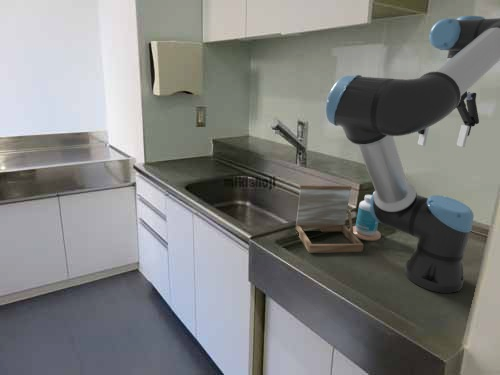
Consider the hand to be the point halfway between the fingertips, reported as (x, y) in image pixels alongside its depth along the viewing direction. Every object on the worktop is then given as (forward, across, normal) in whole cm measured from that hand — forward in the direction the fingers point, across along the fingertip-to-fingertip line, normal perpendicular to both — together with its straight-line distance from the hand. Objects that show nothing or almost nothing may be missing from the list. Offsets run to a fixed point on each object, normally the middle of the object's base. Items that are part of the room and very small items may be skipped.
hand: (440, 145), depth 114 cm
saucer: (+35, +15, -9) cm, 39 cm away
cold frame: (+35, +31, -4) cm, 47 cm away
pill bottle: (+34, +15, -9) cm, 38 cm away
